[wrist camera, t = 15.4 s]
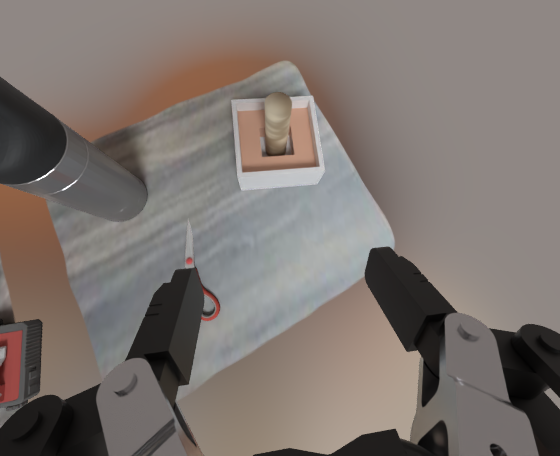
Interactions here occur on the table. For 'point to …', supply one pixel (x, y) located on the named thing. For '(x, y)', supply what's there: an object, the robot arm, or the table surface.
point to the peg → (277, 123)
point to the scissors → (190, 264)
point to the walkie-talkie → (20, 362)
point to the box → (299, 151)
